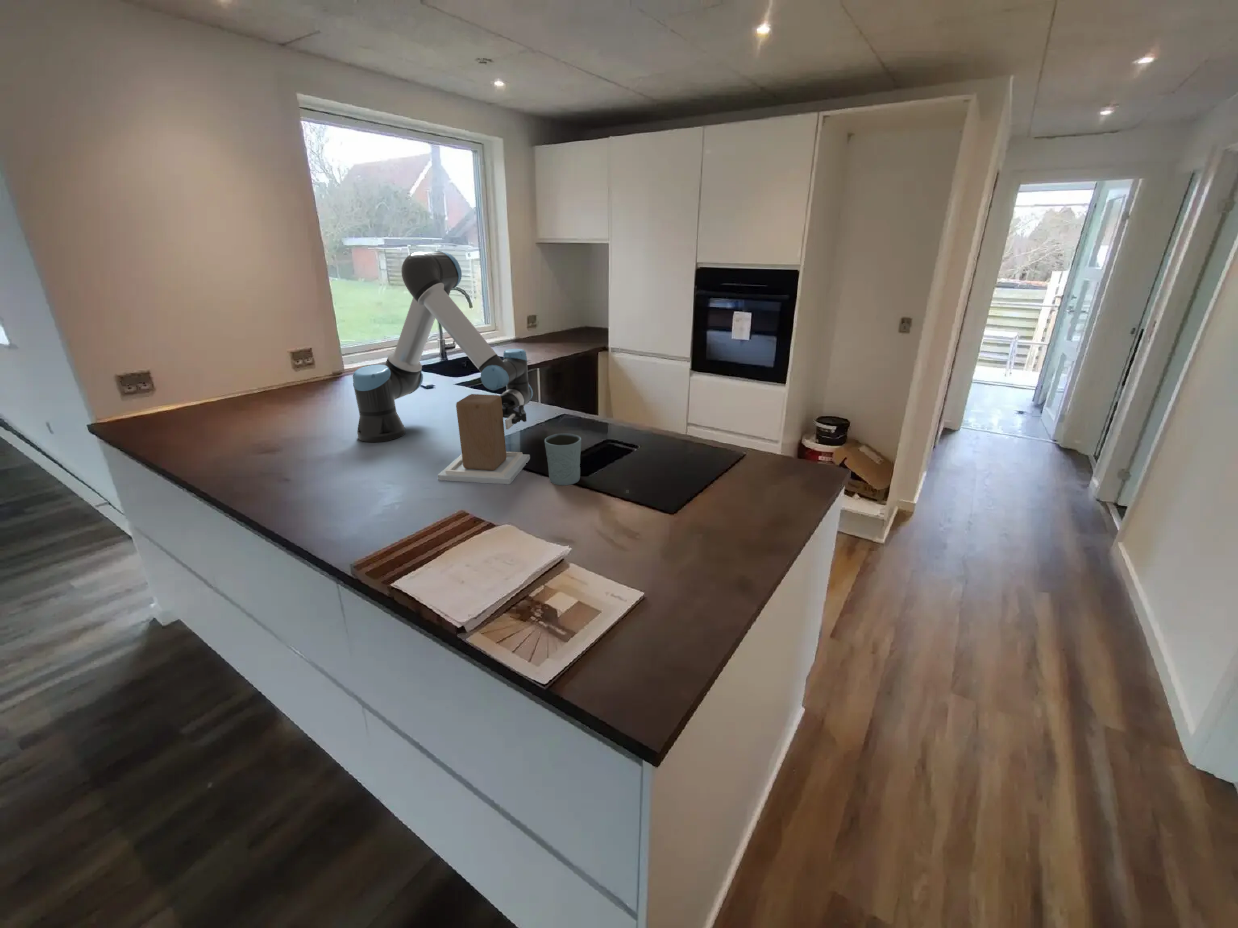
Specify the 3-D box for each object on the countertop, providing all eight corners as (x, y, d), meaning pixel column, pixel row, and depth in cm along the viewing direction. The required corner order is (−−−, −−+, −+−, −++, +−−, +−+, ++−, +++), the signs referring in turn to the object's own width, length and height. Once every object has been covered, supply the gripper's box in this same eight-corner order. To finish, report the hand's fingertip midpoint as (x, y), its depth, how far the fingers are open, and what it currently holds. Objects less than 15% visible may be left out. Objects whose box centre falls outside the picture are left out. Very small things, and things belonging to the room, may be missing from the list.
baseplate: (465, 455, 170) (464, 448, 169) (530, 459, 167) (529, 451, 166) (438, 480, 152) (437, 471, 152) (509, 484, 150) (509, 476, 149)
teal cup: (554, 489, 147) (552, 447, 142) (541, 475, 155) (539, 436, 151) (588, 481, 151) (587, 441, 147) (574, 469, 159) (572, 430, 155)
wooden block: (495, 472, 154) (488, 404, 146) (462, 469, 156) (454, 402, 148) (508, 459, 163) (502, 394, 155) (476, 457, 165) (469, 393, 157)
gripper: (546, 416, 175) (526, 438, 156) (473, 413, 178) (444, 434, 159) (545, 393, 172) (524, 413, 153) (470, 391, 176) (441, 409, 156)
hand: (483, 424), depth 156 cm, fingers open, 13 cm apart
